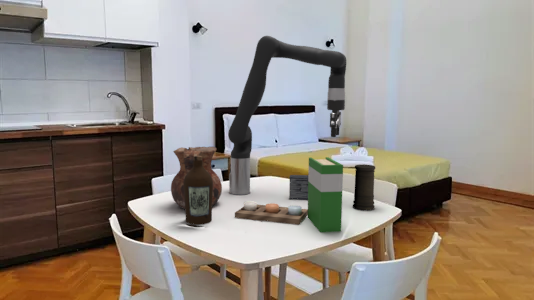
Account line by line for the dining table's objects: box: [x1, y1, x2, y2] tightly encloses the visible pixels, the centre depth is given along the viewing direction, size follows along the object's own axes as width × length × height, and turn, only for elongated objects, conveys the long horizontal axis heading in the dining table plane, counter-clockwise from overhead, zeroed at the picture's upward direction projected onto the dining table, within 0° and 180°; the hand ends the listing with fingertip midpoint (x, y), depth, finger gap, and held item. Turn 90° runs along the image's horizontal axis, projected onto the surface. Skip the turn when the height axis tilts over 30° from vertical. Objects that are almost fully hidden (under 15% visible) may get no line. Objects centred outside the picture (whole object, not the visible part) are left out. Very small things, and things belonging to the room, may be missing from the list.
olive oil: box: [183, 156, 213, 228], centre depth 153 cm, size 11×11×25 cm
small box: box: [288, 174, 308, 201], centre depth 192 cm, size 11×6×10 cm, turn 84°
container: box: [352, 164, 376, 211], centre depth 176 cm, size 9×9×18 cm
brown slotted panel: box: [234, 204, 308, 226], centre depth 161 cm, size 25×14×3 cm, turn 71°
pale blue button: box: [288, 205, 303, 216], centre depth 158 cm, size 5×5×2 cm
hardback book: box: [307, 156, 344, 233], centre depth 150 cm, size 18×7×24 cm, turn 8°
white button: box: [243, 200, 257, 211], centre depth 163 cm, size 5×5×2 cm
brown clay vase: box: [170, 146, 223, 210], centre depth 176 cm, size 22×21×25 cm
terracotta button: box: [265, 202, 280, 213], centre depth 160 cm, size 5×5×2 cm
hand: (335, 136), depth 184 cm, fingers open, 8 cm apart
